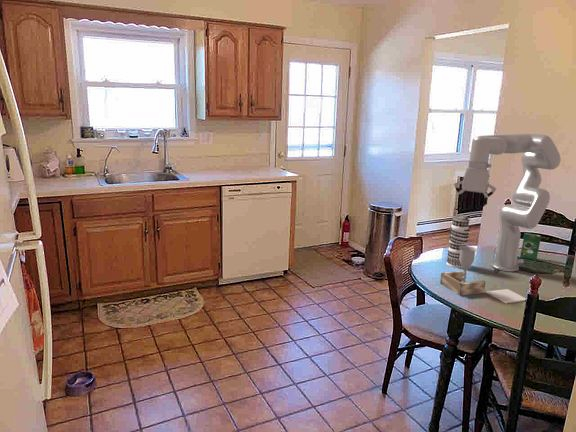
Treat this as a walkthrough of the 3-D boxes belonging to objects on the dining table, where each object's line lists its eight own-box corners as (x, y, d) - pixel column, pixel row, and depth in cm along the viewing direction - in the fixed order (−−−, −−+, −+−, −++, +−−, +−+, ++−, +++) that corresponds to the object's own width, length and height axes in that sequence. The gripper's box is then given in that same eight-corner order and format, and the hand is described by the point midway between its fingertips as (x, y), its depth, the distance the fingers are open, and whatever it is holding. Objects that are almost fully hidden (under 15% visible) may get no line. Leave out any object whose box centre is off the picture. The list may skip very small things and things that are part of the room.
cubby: (463, 280, 203) (464, 270, 201) (484, 292, 190) (485, 281, 189) (440, 283, 199) (441, 272, 198) (459, 295, 187) (461, 284, 185)
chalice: (451, 284, 198) (456, 245, 194) (466, 284, 199) (471, 245, 194) (459, 291, 191) (464, 251, 187) (474, 291, 192) (479, 251, 187)
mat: (507, 290, 194) (507, 288, 193) (527, 300, 183) (527, 299, 183) (486, 292, 190) (486, 291, 190) (505, 303, 180) (506, 302, 180)
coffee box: (537, 258, 236) (541, 234, 233) (537, 260, 234) (541, 236, 231) (520, 255, 240) (524, 232, 237) (519, 257, 238) (523, 233, 235)
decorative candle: (460, 261, 228) (466, 214, 222) (468, 268, 219) (474, 218, 213) (442, 261, 228) (448, 213, 222) (449, 267, 219) (455, 218, 213)
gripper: (500, 167, 193) (494, 206, 197) (458, 163, 201) (453, 200, 205) (498, 168, 187) (492, 208, 190) (455, 164, 195) (450, 202, 199)
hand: (472, 204), depth 198 cm, fingers open, 9 cm apart
